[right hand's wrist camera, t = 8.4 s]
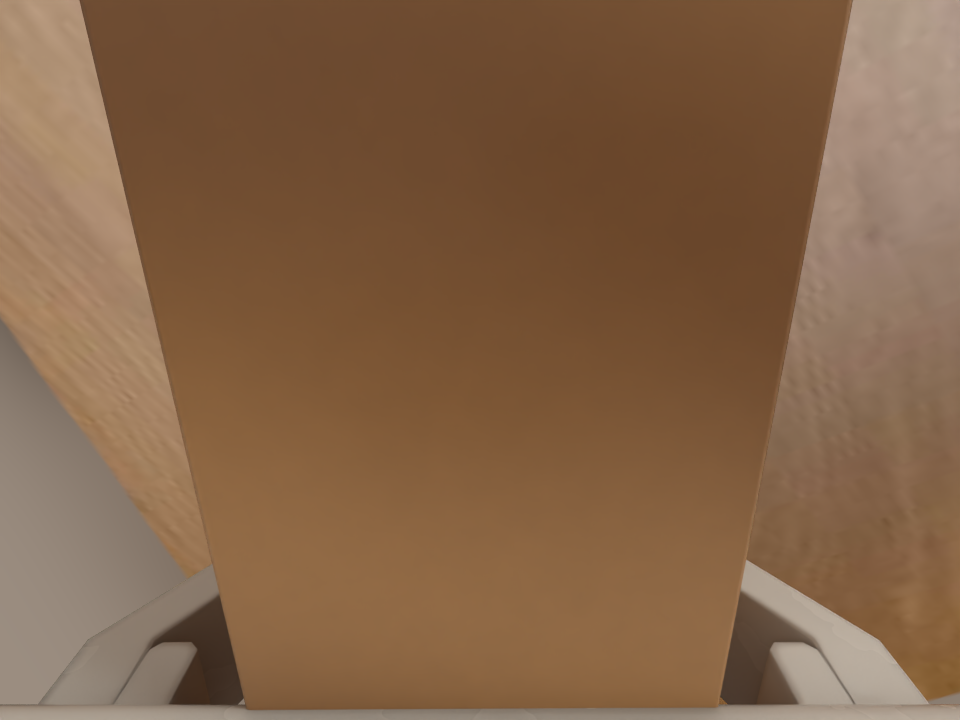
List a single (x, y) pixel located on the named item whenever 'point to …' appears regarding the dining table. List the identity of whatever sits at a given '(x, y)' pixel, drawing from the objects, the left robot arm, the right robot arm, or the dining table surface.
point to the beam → (473, 325)
